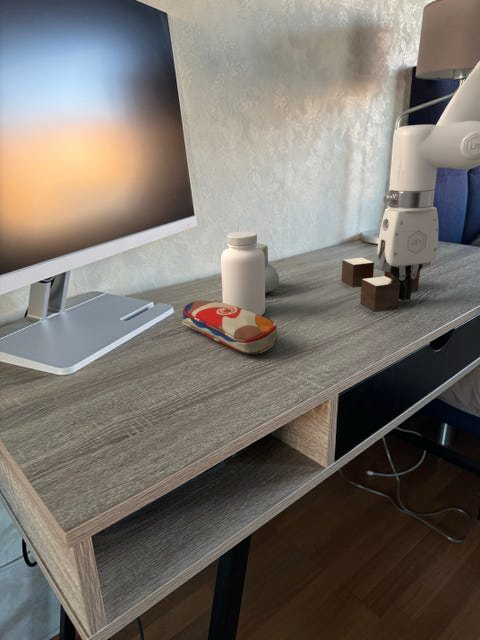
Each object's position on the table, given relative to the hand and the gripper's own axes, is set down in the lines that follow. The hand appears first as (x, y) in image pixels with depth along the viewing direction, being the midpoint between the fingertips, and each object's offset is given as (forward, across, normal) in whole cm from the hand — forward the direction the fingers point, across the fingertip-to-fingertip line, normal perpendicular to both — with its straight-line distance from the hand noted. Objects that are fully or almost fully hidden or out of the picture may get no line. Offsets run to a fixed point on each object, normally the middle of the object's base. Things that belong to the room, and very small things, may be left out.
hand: (401, 297), depth 86 cm
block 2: (+1, -5, 0) cm, 5 cm away
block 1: (+1, -1, +15) cm, 15 cm away
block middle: (+1, +5, +8) cm, 9 cm away
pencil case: (+1, -36, -4) cm, 36 cm away
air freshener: (+1, -24, +18) cm, 30 cm away
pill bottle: (+1, -30, +6) cm, 31 cm away
